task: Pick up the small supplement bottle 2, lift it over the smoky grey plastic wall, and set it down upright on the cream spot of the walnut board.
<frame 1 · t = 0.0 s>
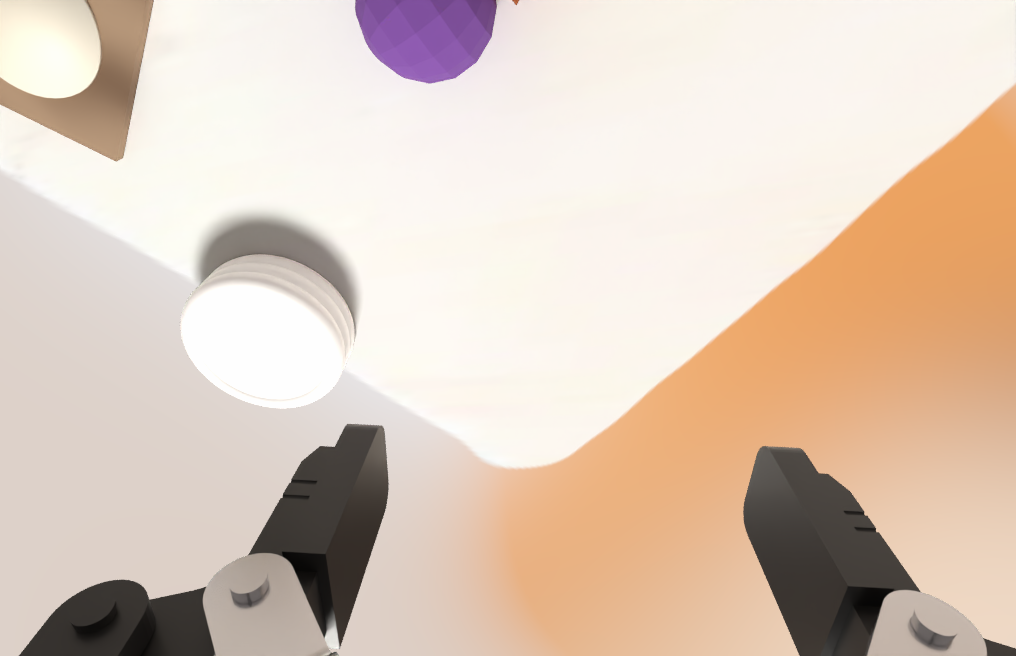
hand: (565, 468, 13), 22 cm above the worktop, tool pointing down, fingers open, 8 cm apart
walnut board: (35, 20, 29), on the worktop
coaster: (282, 317, 39), on the worktop
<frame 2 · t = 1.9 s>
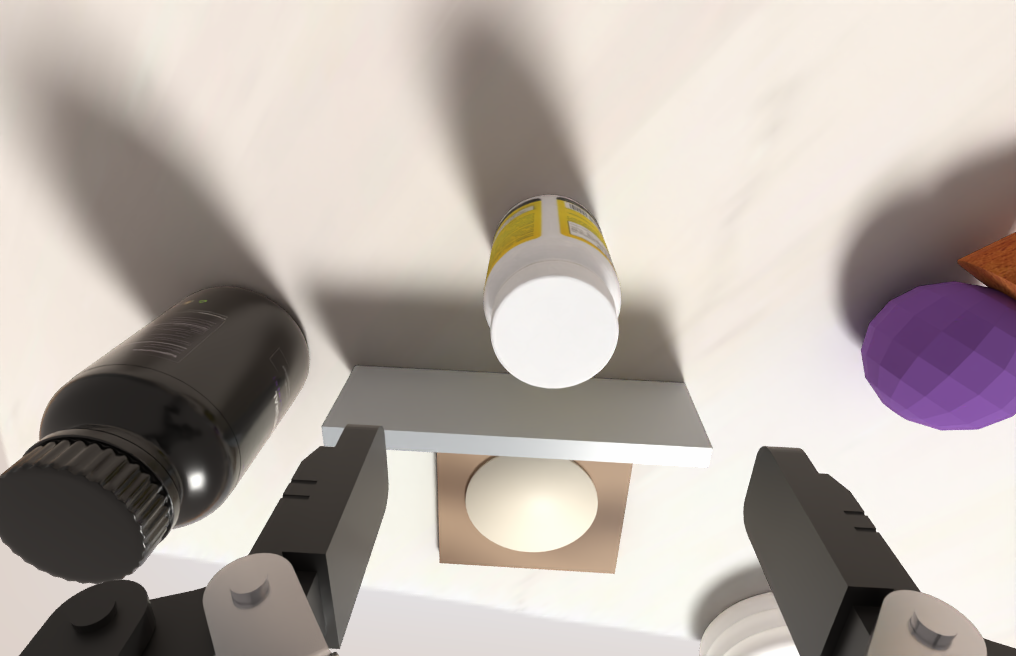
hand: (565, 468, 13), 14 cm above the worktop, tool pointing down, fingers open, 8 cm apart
supplement bottle: (246, 343, 28), on the worktop
low wall: (518, 382, 29), on the worktop
walnut board: (531, 493, 32), on the worktop
coaster: (777, 638, 37), on the worktop
supplement bottle 2: (548, 245, 26), on the worktop
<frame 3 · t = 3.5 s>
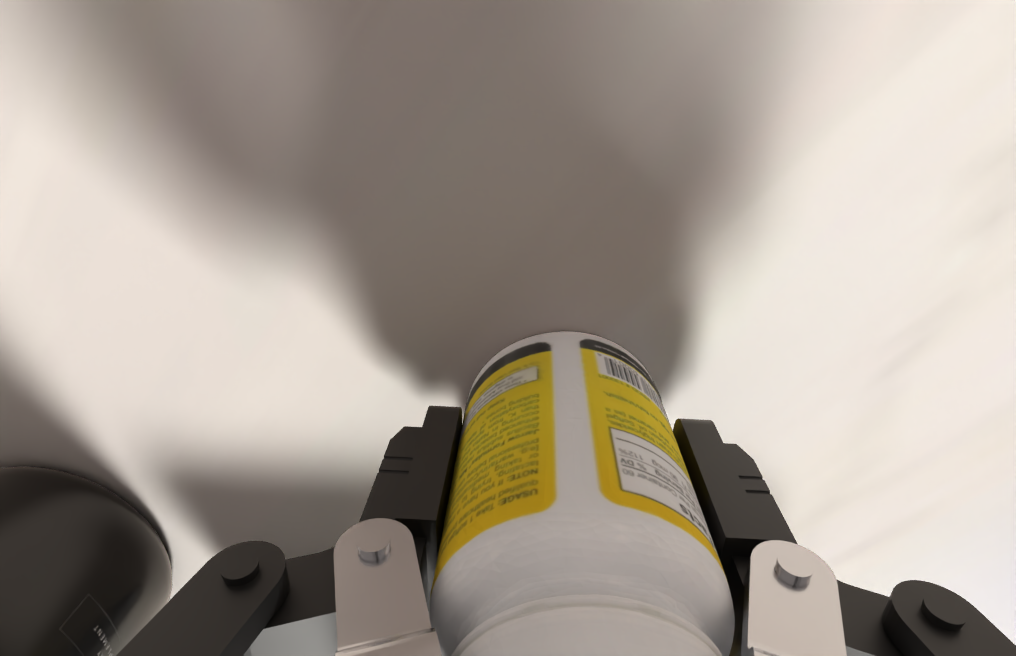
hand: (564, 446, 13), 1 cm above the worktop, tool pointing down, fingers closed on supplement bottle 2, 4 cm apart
supplement bottle: (72, 541, 18), on the worktop
supplement bottle 2: (562, 406, 15), on the worktop, touching gripper
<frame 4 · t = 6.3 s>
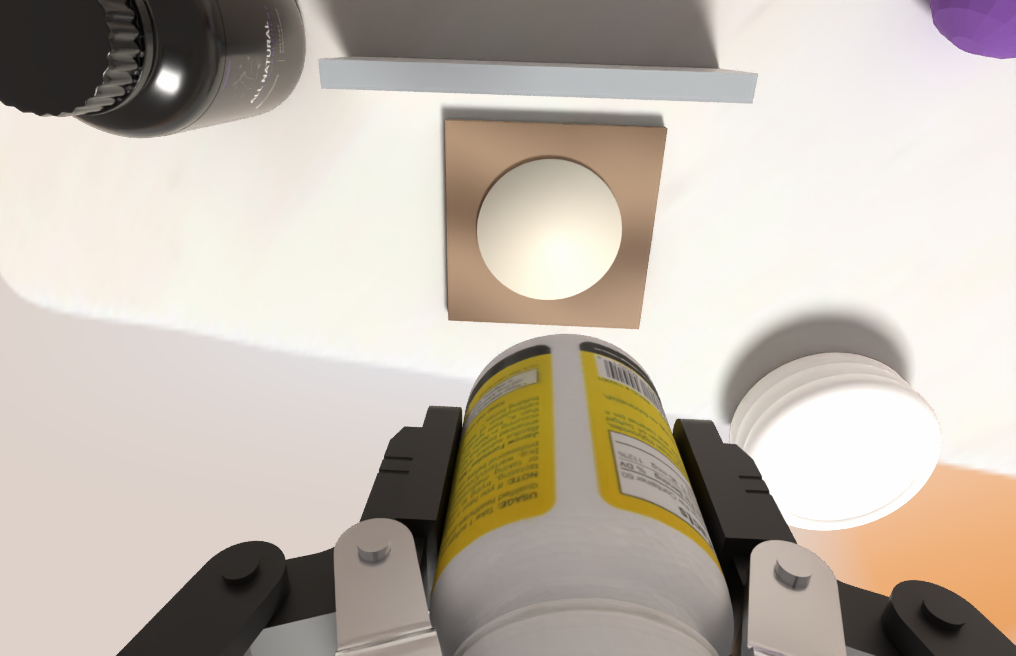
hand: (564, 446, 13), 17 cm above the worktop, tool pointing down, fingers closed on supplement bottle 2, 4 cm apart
supplement bottle: (236, 32, 26), on the worktop
low wall: (535, 74, 26), on the worktop
walnut board: (548, 228, 29), on the worktop
coaster: (813, 422, 34), on the worktop
supplement bottle 2: (562, 408, 15), point 16 cm above the worktop, touching gripper
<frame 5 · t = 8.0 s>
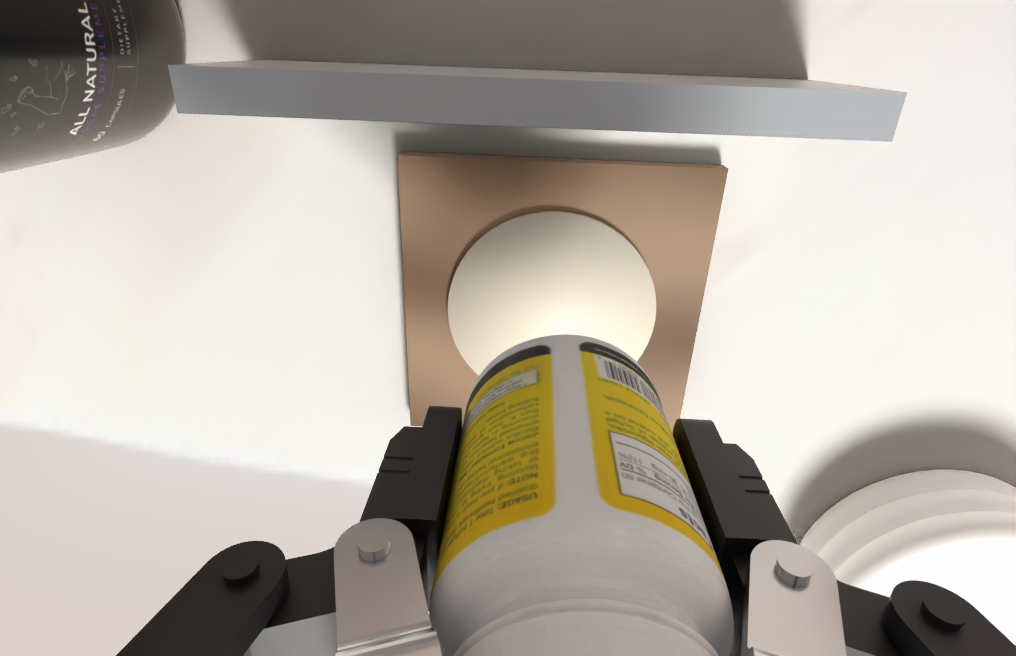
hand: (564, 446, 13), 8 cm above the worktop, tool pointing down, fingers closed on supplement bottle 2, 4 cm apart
supplement bottle: (84, 24, 17), on the worktop
low wall: (531, 87, 17), on the worktop
walnut board: (550, 305, 20), on the worktop
coaster: (904, 551, 25), on the worktop
supplement bottle 2: (562, 409, 15), point 6 cm above the worktop, touching gripper
when the fingers open (4 cm above the worktop, at t = 9.3 s): supplement bottle 2 drops 1 cm, resting on walnut board.
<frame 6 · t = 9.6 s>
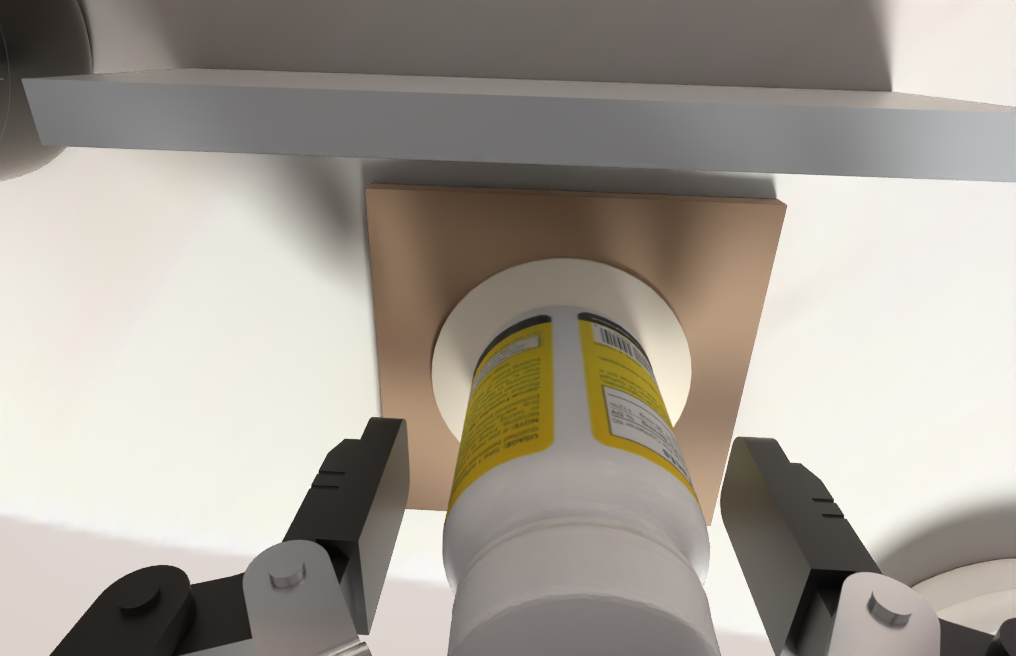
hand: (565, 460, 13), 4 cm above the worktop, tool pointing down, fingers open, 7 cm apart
low wall: (536, 103, 14), on the worktop
walnut board: (558, 367, 17), on the worktop
coaster: (977, 644, 21), on the worktop
supplement bottle 2: (562, 376, 16), point 1 cm above the worktop, touching walnut board
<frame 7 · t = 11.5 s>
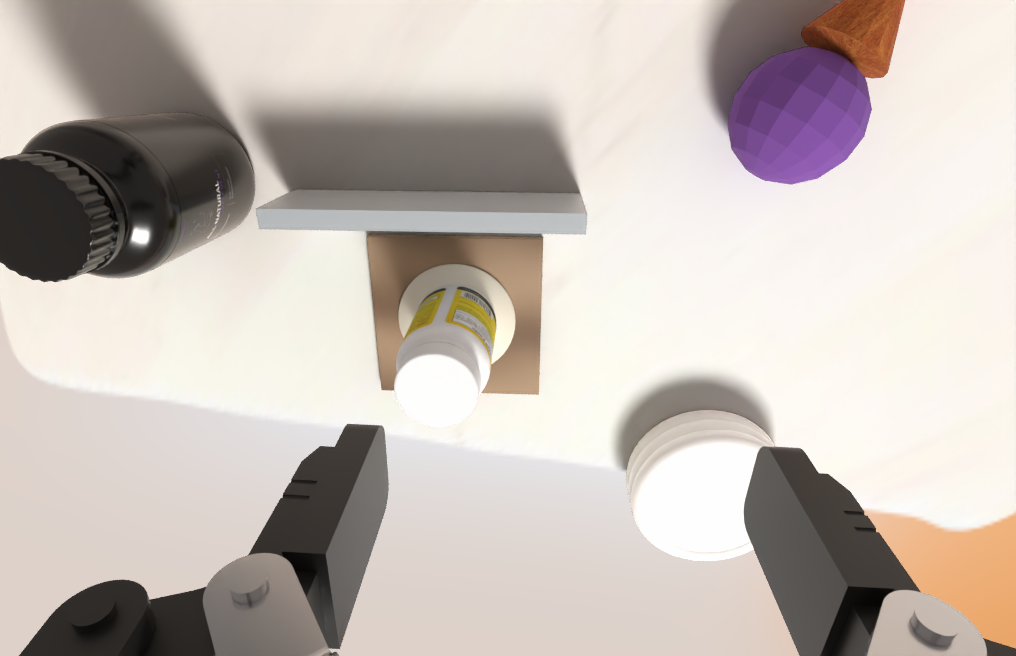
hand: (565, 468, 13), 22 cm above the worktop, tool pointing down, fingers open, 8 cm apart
supplement bottle: (201, 173, 33), on the worktop
low wall: (436, 200, 33), on the worktop
walnut board: (458, 315, 35), on the worktop
coaster: (698, 467, 40), on the worktop
supplement bottle 2: (458, 318, 35), point 1 cm above the worktop, touching walnut board
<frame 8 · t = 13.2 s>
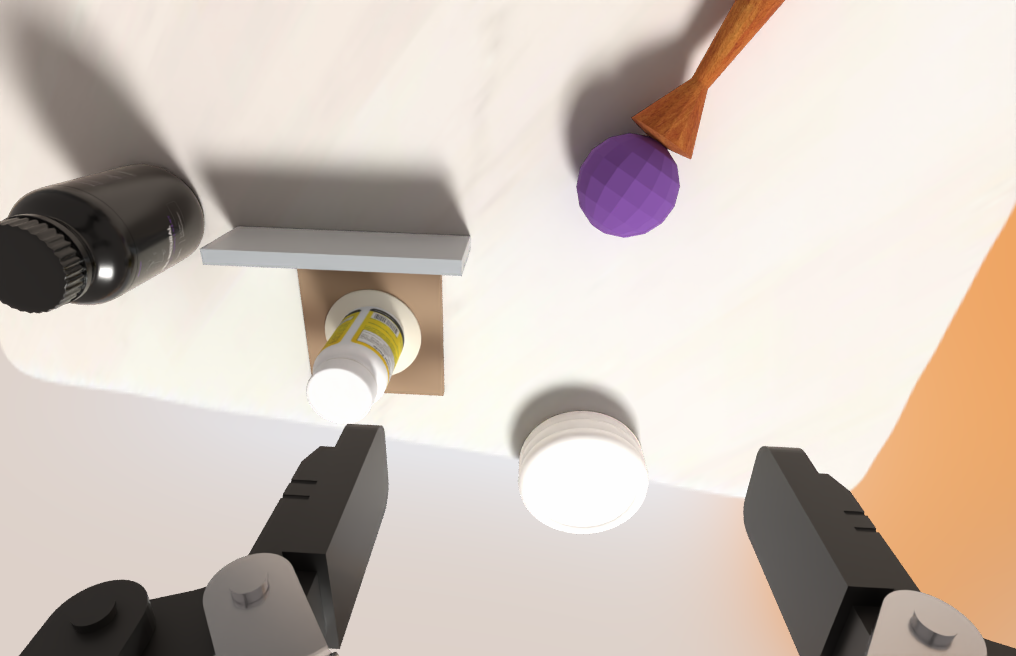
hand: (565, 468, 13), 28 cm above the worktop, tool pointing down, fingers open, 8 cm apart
supplement bottle: (160, 211, 40), on the worktop
low wall: (354, 238, 40), on the worktop
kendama: (692, 76, 35), on the worktop
walnut board: (375, 330, 43), on the worktop
coaster: (580, 457, 48), on the worktop
supplement bottle 2: (374, 333, 42), point 1 cm above the worktop, touching walnut board
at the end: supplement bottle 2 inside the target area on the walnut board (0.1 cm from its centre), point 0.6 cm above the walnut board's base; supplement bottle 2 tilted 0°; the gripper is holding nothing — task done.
